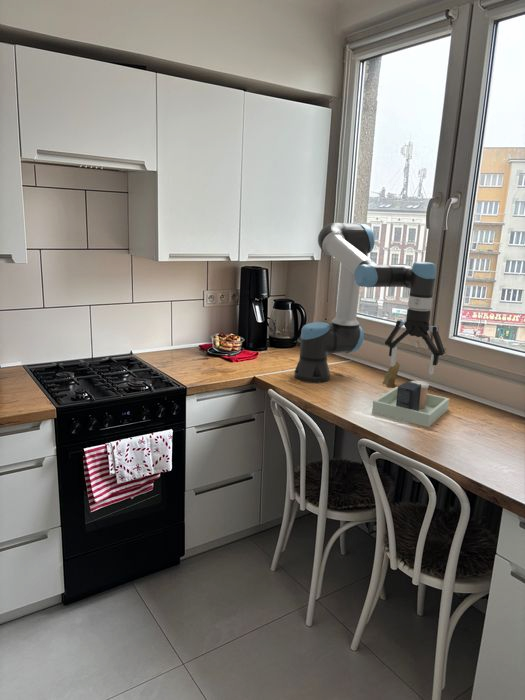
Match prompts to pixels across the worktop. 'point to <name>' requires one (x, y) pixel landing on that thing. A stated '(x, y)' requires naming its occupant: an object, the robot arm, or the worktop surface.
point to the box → (409, 396)
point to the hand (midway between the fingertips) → (411, 369)
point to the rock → (391, 375)
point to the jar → (422, 393)
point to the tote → (422, 417)
